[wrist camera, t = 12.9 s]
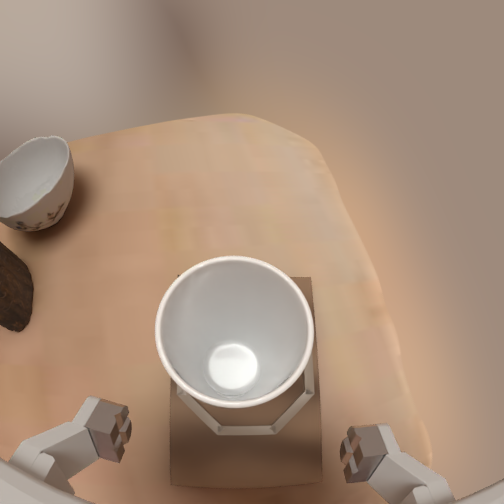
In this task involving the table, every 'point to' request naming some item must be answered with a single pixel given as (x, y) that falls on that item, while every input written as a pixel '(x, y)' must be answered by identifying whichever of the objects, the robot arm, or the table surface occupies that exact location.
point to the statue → (14, 291)
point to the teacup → (36, 184)
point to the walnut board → (250, 434)
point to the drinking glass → (234, 332)
